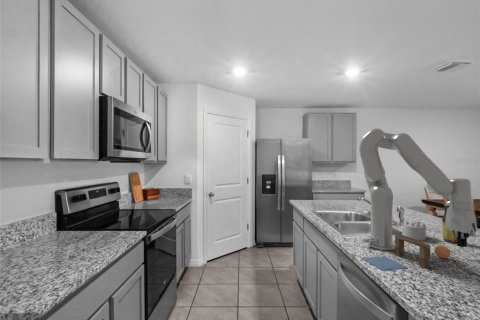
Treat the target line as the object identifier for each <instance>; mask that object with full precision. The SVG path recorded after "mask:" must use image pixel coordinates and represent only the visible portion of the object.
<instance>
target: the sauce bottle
mask: <svg viewBox="0 0 480 320" xmlns="http://www.w3.org/2000/svg"><path fill="white" fill-rule="evenodd" d="M448 207H449V204H447V203H446V204H443V208H444V214H443V217H442V218H441V224H442V225H441V226H442V230H441V231H442V240H443V241H444V242H446V243H450V244H451V243H452V244H457V237H456V236H455V234H454V233H453V232H452V231H450V230H448V228H447V227H446V212H447V208H448Z"/></svg>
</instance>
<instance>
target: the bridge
mask: <svg viewBox="0 0 480 320" xmlns="http://www.w3.org/2000/svg"><path fill="white" fill-rule="evenodd" d="M405 242H407V243H409V244H412V245H415V246H417V247H419V267H421V268H423V269H429V268H431V244H429V243H426V242H423V241H422V240H420V241H419V240H415V239H412V238H409V237H407V236H404V234H394V244H395V250H394V254H395V256H398V257H403V256H405Z"/></svg>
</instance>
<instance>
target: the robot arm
mask: <svg viewBox="0 0 480 320" xmlns="http://www.w3.org/2000/svg"><path fill="white" fill-rule="evenodd" d="M379 148H380V149H387V150H391V151H393V150H394V151H396V152H397V153H398V154H399V155H400V156H401V158H402V159H403V161H404V162H405V163H406V164H407V166H408V167H409V168H411V170H413V171H414V172H416V173H417V174H418V175H419V176H420V177H422V178H423V180H425V182H426V188H427V190H428V191H429V192H430V193H432V194H435V195H438V196H442V197H443V196H444V197H445V196H448V201H447V203H446V204H449V207H448V208H447V212H446V227H447V228H448V230H450V231H452V232H453V233H454V234H455V236H456V237H457V243H456V245H457V247H461V248H467V247H468V239H469V238H470V237H476V236H477V235H476V232H477V227H478V226H477V219H476V215H475V214H476V213H475V211H474V210H473V207H472V188H471V187H472V186H471V185H472V184H471V180H469V179H468V178H448V176H447V175H446V174H445V173H444V172H443V170H442V169H440V168H439V166H437V165H436V164H435V162H433V160H431V158H430V157H429V156H428V155H427V154H425V152H424V151H423V150H422V148H421V147H420V146H419V145H418V144H417V143H416V141H415V140H414V139H413V138H412V137H411V136H410V135H409V134H408V133H405V132H400V133H390V132H384V130H382V129H380V128H372V129H370V130H369V131H368V132H367V133H366V134H365V135H364V136H363V137H362V139H361V141H360V143H359V155H360V159H361V163H362V167H363V169H364V170H363V174H364V179H365V181H366V184H367V187H368V190H369V191H368V192H369V194H370V235H369V236H368V237H367V238H362V240H361V241H362V243H364V244H366V243H367V245H368V246H369V247H371V248H373V249H376V250H381V251H395V243H393V204H394V193H393V190H392V188H391V187H389V183H388V181H387V177H386V170H385V168H384V166H383V163H382V159H381V156H380V152H379Z"/></svg>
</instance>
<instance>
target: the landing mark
mask: <svg viewBox="0 0 480 320" xmlns="http://www.w3.org/2000/svg"><path fill="white" fill-rule="evenodd" d="M361 260H363V261H365V262H367V263H368V264H370V265H372V266H374V267H375V268H377V269H378V270H380V271H389V270H399V269H400V270H402V269H408V267H407V266H406V265H404V264H402V263H399V262H398V261H395V260H393V259H391V258H389V257H387V256H385V255H381V256H368V257H361Z"/></svg>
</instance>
